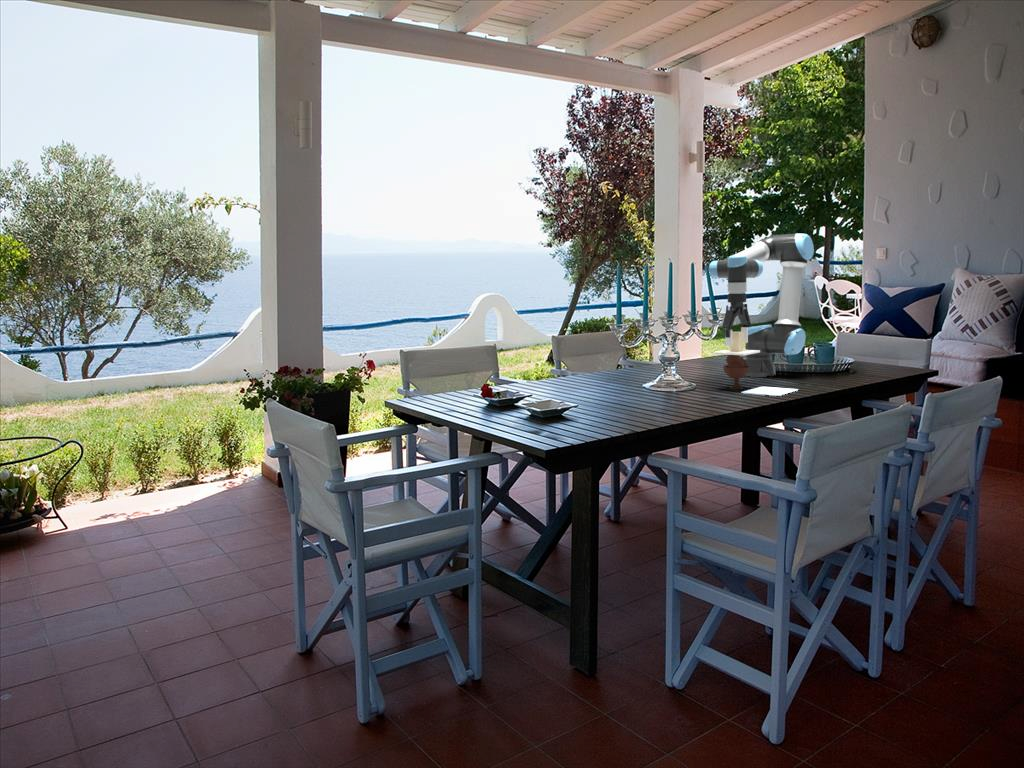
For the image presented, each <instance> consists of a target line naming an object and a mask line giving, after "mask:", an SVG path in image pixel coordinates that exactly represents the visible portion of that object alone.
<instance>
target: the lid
mask: <svg viewBox="0 0 1024 768" xmlns="http://www.w3.org/2000/svg"><path fill="white" fill-rule="evenodd" d="M743 338H744V332H741V331H732V346H729V348H728V349H721V350H717V351H713V352H712V354H713V355H725V356H728V355H740V356H745V355H749V354H754V353H759V352H760V350H745V349H744V343H743Z"/></svg>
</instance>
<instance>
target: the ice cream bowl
mask: <svg viewBox="0 0 1024 768" xmlns="http://www.w3.org/2000/svg"><path fill="white" fill-rule="evenodd" d="M726 356H727V357H726V359H725V361H726V365H723V366H722V367H723V368H722V369H723V371H724V373H725V375H726V376H728V377H729V378H730V379H733V382H734V384H733V385H731V386H730V388H729V389H730V390H734V389H740V390H743V389H744V387H743V386H741V385H740V384H739V383H740V379H742V378H744V377H746V376H745V375H746V374H747V373H748V371H749V369H750V366H748V365H746V360H745V358H743V357H742V356H741V355H726Z"/></svg>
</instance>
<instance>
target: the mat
mask: <svg viewBox="0 0 1024 768" xmlns="http://www.w3.org/2000/svg"><path fill="white" fill-rule="evenodd" d="M798 390H800V389H798V388H786V387H775V386H774V387H773V386H759V387H755V388H751V389H747V390H744V391H741V394H742V393H743V394H744V395H755V396H765V395H769V396H768V397H776V396H780V397H782V395H783V396H786V395H789V394H788V393H790V394H793V393H796V392H799V391H798ZM795 391H796V392H795ZM792 392H793V393H792ZM785 394H786V395H785Z"/></svg>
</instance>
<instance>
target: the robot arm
mask: <svg viewBox="0 0 1024 768" xmlns="http://www.w3.org/2000/svg"><path fill="white" fill-rule="evenodd" d="M814 248H815V247H814V242H813V240H812V237H811V236H810V235H808V234H807V233H798V232H797V233H786V234H784V233H783V234H774V235H770V236H767V237H765V238H763V239H760V240H757V241H756V242H754V243H753V244H751V246H750V247H748V248H746V249H744V250H742V251H740V252H738V253H735V254H733V255H730V256H728V257H727V258H725V259H721V260H713V261H711V262H710V264H709V265H708V273H709V272H710V274H709V276H710V277H711V278H713V279H727V285H726V286H727V292H728V293H727V303H730V305H729V304H728V305H726V306H725V315H724V317H723V322H722V326H721V327H722V330H725V331H724V332H725V335H724V345H725V346H727V347H728V346H729V347H730V346H732V332H733V329H732V328H733V325H734V322H735V320H736V318H737V317H738V319H739V322H740V324H741V327H740V332H744V338H743V344H745V349H744V350H760V352H759V353H754V354H749V355H744V356H745V358H744V359H745V360H746V365H748V366H750V369H749V371H748V373H747V374H746V375H745V376H744V377H748V376H750V378H751V377H752V378H768V377H767V376H770V377H774V375H775V376H776V369H775V366H774V362H773V358H772V354H773V355H774V354H775V355H776V354H778V355H787V356H791V355H798V354H799V353H801V351H802V350H803V348H804V347H805V344H806V338H807V337H806V336H807V335H806V331H805V330H804V329H803V328H802V324H801V323H800V322H799V315H800V305H801V297H802V296H801V295H802V294H801V293H802V284H803V273H804V268H805V267H806V266H807V265H808V261H810V260H811V259H812V258H813V256H814V254H815V253H814V251H815V249H814ZM767 261H769V262H770V261H779V264H780V265H781V267H782V277H781V287H780V297H779V308H778V319H777V321H776V322H774V325H773V326H772V324H763V325H755V326H751V318H750V315H749V311H748V304H747V303H746V302H747V292H748V291H747V279H750V278H751V279H755V278H757V277H760V276H761V275H762V273H763V270H764V267H763V264H762V263H764V262H767Z"/></svg>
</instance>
